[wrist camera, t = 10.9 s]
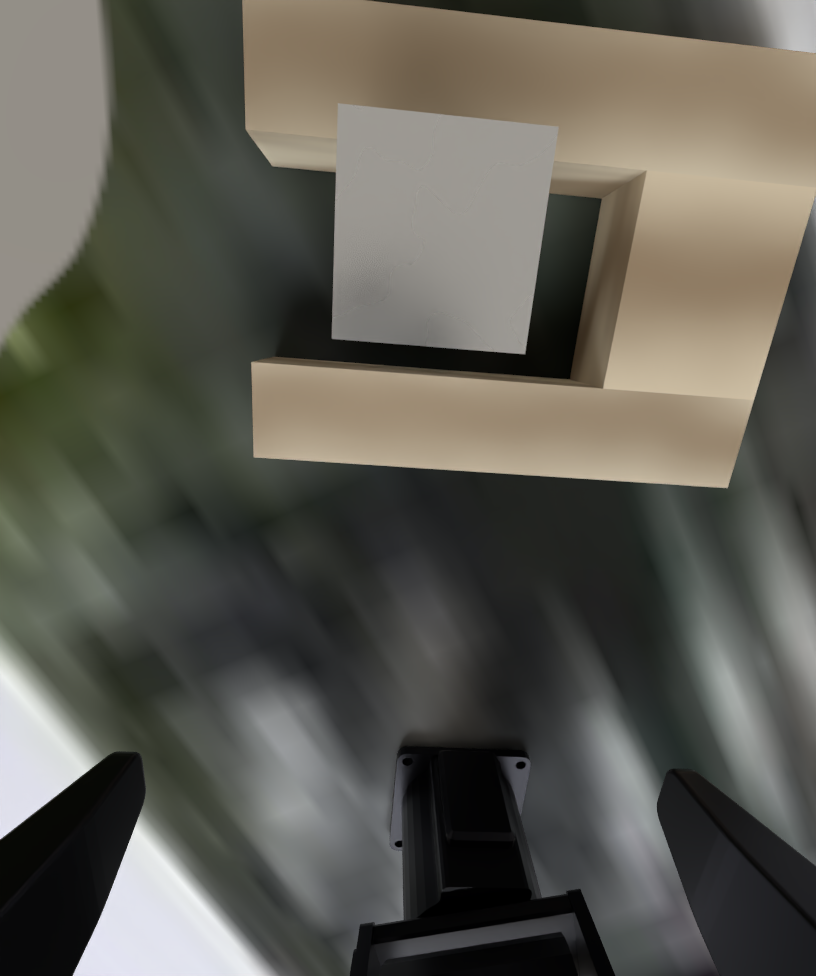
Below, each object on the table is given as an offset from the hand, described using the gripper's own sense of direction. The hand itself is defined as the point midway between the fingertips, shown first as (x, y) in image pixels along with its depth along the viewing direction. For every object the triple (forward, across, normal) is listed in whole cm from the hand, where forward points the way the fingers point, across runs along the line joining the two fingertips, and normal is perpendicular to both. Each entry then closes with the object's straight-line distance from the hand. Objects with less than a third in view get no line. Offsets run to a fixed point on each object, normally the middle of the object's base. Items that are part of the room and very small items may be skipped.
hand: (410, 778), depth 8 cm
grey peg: (+12, 0, -9) cm, 15 cm away
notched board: (+12, -3, -9) cm, 15 cm away
